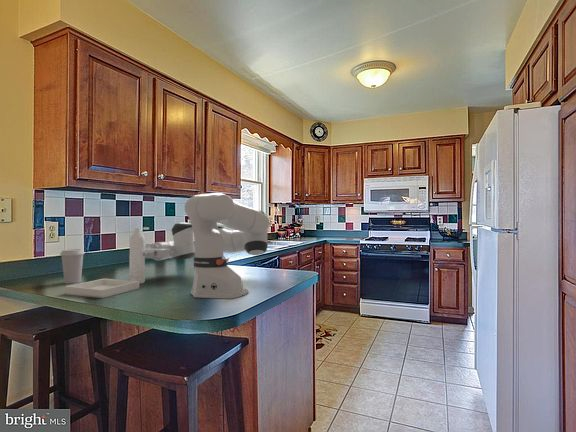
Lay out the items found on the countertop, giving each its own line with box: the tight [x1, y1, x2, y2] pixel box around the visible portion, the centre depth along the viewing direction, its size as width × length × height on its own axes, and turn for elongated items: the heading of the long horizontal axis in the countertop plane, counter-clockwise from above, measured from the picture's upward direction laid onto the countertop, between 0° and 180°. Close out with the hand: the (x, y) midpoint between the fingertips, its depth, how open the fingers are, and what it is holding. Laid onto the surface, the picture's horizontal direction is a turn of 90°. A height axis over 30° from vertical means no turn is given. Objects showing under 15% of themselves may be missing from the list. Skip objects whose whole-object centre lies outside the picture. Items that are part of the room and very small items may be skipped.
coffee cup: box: [59, 248, 86, 285], centre depth 160 cm, size 10×10×15 cm
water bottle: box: [128, 226, 150, 285], centre depth 158 cm, size 9×6×25 cm
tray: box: [64, 278, 140, 299], centre depth 141 cm, size 20×18×3 cm
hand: (137, 254), depth 158 cm, fingers closed on water bottle, 6 cm apart
